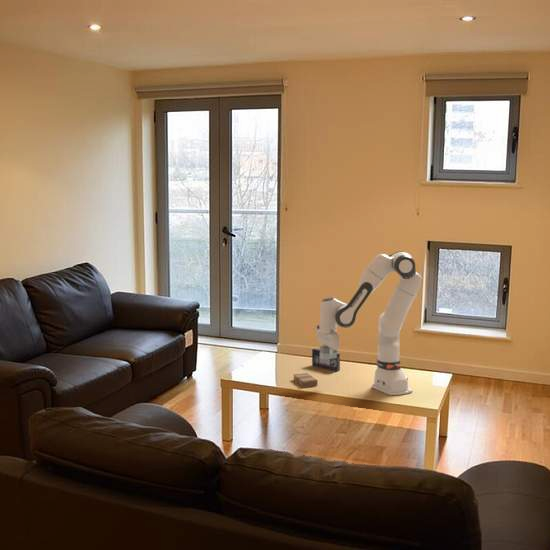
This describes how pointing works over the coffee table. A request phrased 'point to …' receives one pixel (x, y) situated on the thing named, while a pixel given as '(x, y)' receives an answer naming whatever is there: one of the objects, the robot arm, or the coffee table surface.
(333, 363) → the vhs cassette tape
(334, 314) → the robot arm
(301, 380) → the walnut stand
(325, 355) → the housing
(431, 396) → the coffee table surface
